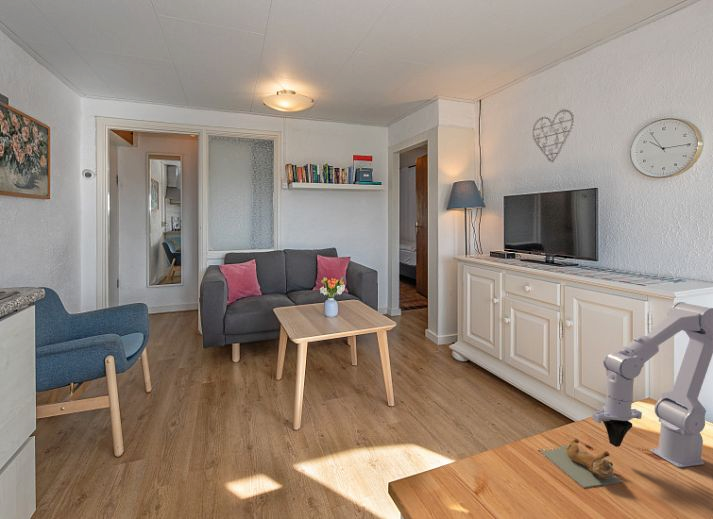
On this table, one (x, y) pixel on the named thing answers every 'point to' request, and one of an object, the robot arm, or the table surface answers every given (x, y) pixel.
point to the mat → (577, 469)
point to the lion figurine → (590, 460)
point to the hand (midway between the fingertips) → (614, 444)
